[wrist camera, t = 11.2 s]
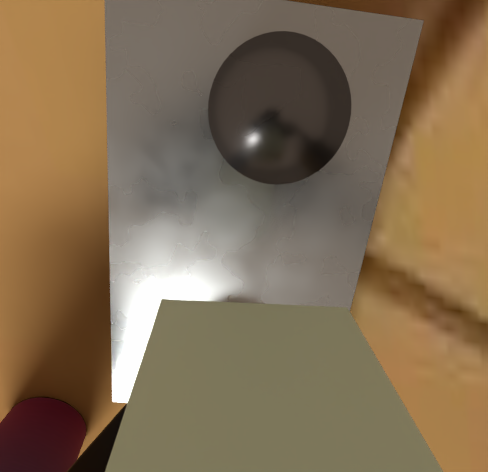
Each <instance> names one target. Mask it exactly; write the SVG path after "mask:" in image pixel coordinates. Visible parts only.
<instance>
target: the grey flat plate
mask: <svg viewBox="0 0 488 472" xmlns="http://www.w3.org/2000/svg"><path fill="white" fill-rule="evenodd" d="M423 22H424V20H418V19H411V18H404V17H397V16H390V15H383V14H376V13H369V12H363V11H356V10H349V9H342V8H335V7H328V6H321V5H314V4H307V3H301V2H294V1H287V0H105V42H106V95H107V148H108V202H109V255H110V309H111V362H112V402H124V403H127V402H128V400H129V397H130V394H131V391H132V388H133V385H134V382H135V379H136V376H137V372H138V369H139V366H140V363H141V360H142V357H143V354H144V351H145V348H146V345H147V342H148V339H149V336H150V333H151V330H152V327H153V324H154V321H155V318H156V315H157V311H158V308H159V305H160V302H161V299H171V300H193V301H215V302H238V303H260V304H282V305H305V306H327V307H347V308H348V310H349V311H350V308H351V304H352V301H353V297H354V293H355V289H356V285H357V281H358V277H359V273H360V269H361V265H362V261H363V257H364V253H365V249H366V246H367V242H368V238H369V234H370V230H371V226H372V222H373V218H374V214H375V210H376V206H377V202H378V198H379V194H380V191H381V187H382V183H383V179H384V175H385V171H386V167H387V163H388V159H389V155H390V151H391V147H392V143H393V139H394V136H395V132H396V128H397V124H398V120H399V116H400V112H401V108H402V104H403V100H404V96H405V92H406V88H407V85H408V81H409V77H410V73H411V69H412V65H413V61H414V57H415V53H416V49H417V45H418V41H419V37H420V33H421V30H422V26H423ZM274 31H289V32H296V33H300V34H304V35H306V36H308V37H311V38H313V39H315V40H316V41H318V42H319V43H321V44H322V45H324V46H325V47H326V48H327V49H328V50H329V51H330V52H331V53H332V54H333V55H334V56H335V57H336V59H337V60H338V62H339V63H340V65H341V66H342V68H343V70H344V73H345V75H346V77H347V80H348V83H349V88H350V93H351V104H352V105H351V117H350V123H349V127H348V130H347V133H346V136H345V138H344V140H343V143H342V144H341V146H340V148H339V149H338V151H337V152H336V154H335V155H334V156H333V158H332V159H331V160H330V161H329V162H328V163H327V164H326V165H325V166H324V167H323V168H321V169H320V170H319V171H318V172H316V173H314V174H313V175H311V176H309V177H307V178H305V179H303V180H300V181H297V182H294V183H288V184H278V185H276V184H266V183H261V182H257V181H255V180H252V179H250V178H248V177H246V176H244V175H242V174H241V173H239V172H238V171H236V170H235V169H234V168H233V167H232V166H231V165H229V163H228V162H227V161H226V160H225V159H224V158H223V156H222V155H221V153H220V152H219V150H218V148H217V146H216V144H215V142H214V140H213V137H212V134H211V131H210V126H209V120H208V101H209V95H210V90H211V87H212V84H213V81H214V78H215V76H216V74H217V72H218V70H219V68H220V67H221V65H222V64H223V62H224V61H225V60H226V58H227V57H228V56H229V55H230V54H231V53H232V52H233V51H234V50H235V49H236V48H237V47H239V46H240V45H241V44H243V43H244V42H246V41H247V40H249V39H251V38H253V37H255V36H258V35H261V34H264V33H269V32H274Z"/></svg>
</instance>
